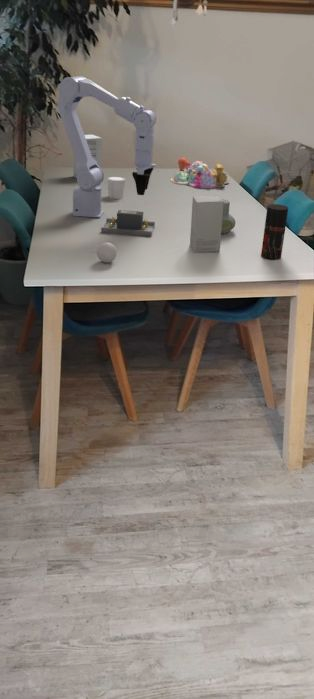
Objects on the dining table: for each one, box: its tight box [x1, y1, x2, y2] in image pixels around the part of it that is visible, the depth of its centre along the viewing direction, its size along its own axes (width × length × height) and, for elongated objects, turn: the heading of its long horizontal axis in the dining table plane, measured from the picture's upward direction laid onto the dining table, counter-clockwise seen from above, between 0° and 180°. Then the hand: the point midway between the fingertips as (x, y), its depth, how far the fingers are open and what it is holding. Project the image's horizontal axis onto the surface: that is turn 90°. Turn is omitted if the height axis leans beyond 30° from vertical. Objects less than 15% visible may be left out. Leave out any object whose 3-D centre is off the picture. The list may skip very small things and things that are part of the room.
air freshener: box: [221, 198, 236, 235], centre depth 210 cm, size 11×8×10 cm
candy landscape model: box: [170, 157, 229, 190], centre depth 272 cm, size 25×24×9 cm
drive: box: [116, 209, 144, 230], centre depth 207 cm, size 8×4×5 cm, turn 85°
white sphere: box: [92, 241, 118, 264], centre depth 179 cm, size 8×6×6 cm
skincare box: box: [189, 195, 224, 253], centre depth 191 cm, size 8×7×16 cm
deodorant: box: [260, 203, 289, 261], centre depth 189 cm, size 6×6×15 cm
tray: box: [100, 216, 156, 237], centre depth 208 cm, size 16×11×3 cm
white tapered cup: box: [106, 176, 126, 200], centre depth 243 cm, size 7×7×7 cm
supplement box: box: [72, 134, 103, 179], centre depth 266 cm, size 10×9×17 cm
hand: (142, 192), depth 213 cm, fingers open, 7 cm apart
